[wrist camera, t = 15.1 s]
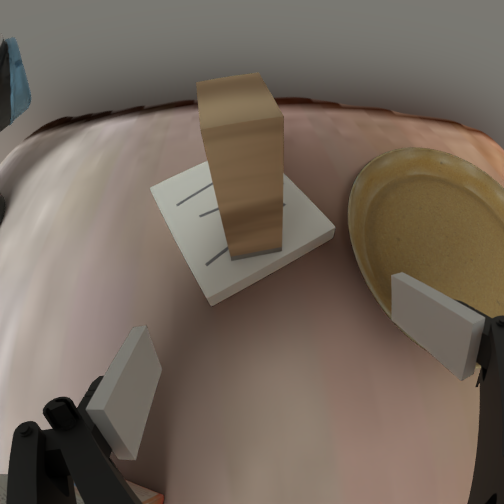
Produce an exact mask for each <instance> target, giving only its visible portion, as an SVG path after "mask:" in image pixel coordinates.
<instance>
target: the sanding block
mask: <svg viewBox="0 0 504 504" xmlns="http://www.w3.org/2000/svg"><path fill="white" fill-rule="evenodd" d="M196 84H197V97H198V108H199V119H200V129H201V134H202V138H203V143H204V147H205V152H206V156H207V160H208V165H209V169H210V174H211V178H212V182H213V186H214V191H215V195H216V199H217V203H218V208H219V212H220V216H221V220H222V224H223V228H224V233H225V237H226V241H227V245H228V249H229V253H230V257H231V261H234V260H239V259H244V258H249V257H254V256H259V255H264V254H270V253H275V252H280V251H282V229H283V166H284V116H283V115H282V113H281V111H280V109H279V107H278V105H277V104H276V102H275V100H274V98H273V97H272V95H271V93H270V91H269V90H268V88H267V86H266V84H265V83H264V81H263V79H262V78H261V76H260V74H259V73H251V74H243V75H236V76H230V77H224V78H218V79H212V80H206V81H201V82H197V83H196Z"/></svg>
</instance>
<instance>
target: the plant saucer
mask: <svg viewBox="0 0 504 504" xmlns="http://www.w3.org/2000/svg"><path fill="white" fill-rule="evenodd" d="M348 227H349V234H350V239H351V244H352V248H353V251H354V255H355V258H356V261H357V264H358V266H359V269H360V271H361V273H362V276H363V278H364V280H365V282H366V284H367V286H368V288H369V289H370V291H371V293H372V294H373V296H374V298H375V299H376V301H377V302H378V304H379V305H380V306H381V308H382V309H383V311H384V312H385V313H386V314H387V316H388V317H389V318H390V319H391V318H392V288H391V275H394V274H397V273H401V272H403V273H405V274H407V275H409V276H411V277H413V278H415V279H417V280H418V281H420V282H422V283H424V284H426V285H428V286H430V287H432V288H433V289H435V290H437V291H439V292H441V293H443V294H444V295H446V296H448V297H450V298H452V299H455V300H459V301H462V302H464V303H466V304H468V305H469V306H471V307H473V308H475V310H476V309H477V310H479V311H480V312H482V313H484V314H486V315H487V316H489V317H491V318H494V317H496V316H501V315H504V188H503V187H502V186H501V185H500V184H499V183H498V182H497V181H495V180H494V179H493V178H492V177H490V176H489V175H488V174H487V173H485V172H484V171H482V170H481V169H479V168H478V167H476V166H474V165H473V164H471V163H469V162H467V161H465V160H463V159H461V158H459V157H457V156H454V155H451V154H449V153H445V152H442V151H438V150H433V149H428V148H401V149H396V150H392V151H389V152H386V153H384V154H382V155H380V156H378V157H376V158H374V159H373V160H372V161H370V162H369V163H368V164H367V165H366V166H365V167H364V168H363V169H362V170H361V172H360V173H359V175H358V176H357V178H356V180H355V182H354V184H353V187H352V189H351V193H350V197H349V202H348ZM393 323H394V322H393ZM394 324H395V325H396V326H397V327H398V328H399V329H400V330H401V331H402V332H403V333H404V334H405V335H406V336H407V337H409V338H410V339H411V340H412V341H413V342H415V343H416V344H417V345H419V346H420V347H421V348H423V347H422V346H421V345H420V344H419V343H418V342H417V341H415V340H414V339H413V338H412V337H411V336H410V335H408V334H407V333H406V332H405V331H404V330H403V329H401V328H400V327H399V326H398V325H397V324H396V323H394ZM423 349H424V350H426V349H425V348H423ZM426 351H427V350H426ZM475 368H478V369H481V365H479V364H478V363H477V362H476V366H475Z"/></svg>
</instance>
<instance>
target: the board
mask: <svg viewBox="0 0 504 504" xmlns="http://www.w3.org/2000/svg"><path fill="white" fill-rule="evenodd" d="M150 190H151V192H152V194H153V197H154V199H155V201H156V203H157V205H158V207H159V209H160V211H161V213H162V215H163V217H164V219H165V221H166V223H167V225H168V227H169V229H170V231H171V233H172V235H173V237H174V239H175V241H176V243H177V245H178V247H179V248H180V250H181V252H182V254H183V256H184V258H185V260H186V262H187V264H188V266H189V267H190V269H191V271H192V273H193V275H194V277H195V279H196V280H197V282H198V284H199V286H200V288H201V289H202V291H203V293H204V295H205V297H206V298H207V300H208V302H209V304H210V306H211V307H212V306H213V305H215V304H217V303H219V302H221V301H223V300H224V299H226V298H228V297H230V296H232V295H234V294H235V293H237V292H239V291H241V290H243V289H244V288H246V287H248V286H250V285H252V284H253V283H255V282H257V281H259V280H261V279H262V278H264V277H266V276H268V275H269V274H271V273H273V272H275V271H277V270H278V269H280V268H282V267H284V266H285V265H287V264H289V263H291V262H292V261H294V260H296V259H298V258H299V257H301V256H303V255H305V254H306V253H308V252H310V251H311V250H313V249H315V248H317V247H318V246H320V245H322V244H323V243H325V242H327V241H329V240H330V239H332V238H333V236H334V232H335V228H336V227H335V226H334V225H333V223H332V222H331V221H330V220H329V219H328V218H327V217H326V216H325V215H324V214H323V213H322V212H321V211H320V210H319V209H318V208H317V207H316V205H315V204H314V203H313V202H312V201H311V200H310V199H309V198H308V197H307V196H306V195H305V194H304V193H303V192H302V191H301V190H300V189H299V188H298V187H297V186H296V185H295V184H294V183H293V182H292V181H291V180H290V179H289V178H288V177H287V176H286V175H285V174H284V173H283V229H282V251H280V252H275V253H270V254H264V255H259V256H254V257H249V258H244V259H239V260H234V261H231V257H230V253H229V249H228V245H227V241H226V237H225V233H224V228H223V224H222V220H221V216H220V212H219V208H218V203H217V199H216V195H215V191H214V186H213V182H212V178H211V174H210V169H209V165H208V161H206V162H203V163H201V164H199V165H197V166H195V167H192V168H190V169H188V170H186V171H184V172H181V173H179V174H177V175H175V176H173V177H171V178H169V179H167V180H165V181H163V182H161V183H159V184H157V185H155V186H153V187H151V188H150Z"/></svg>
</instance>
